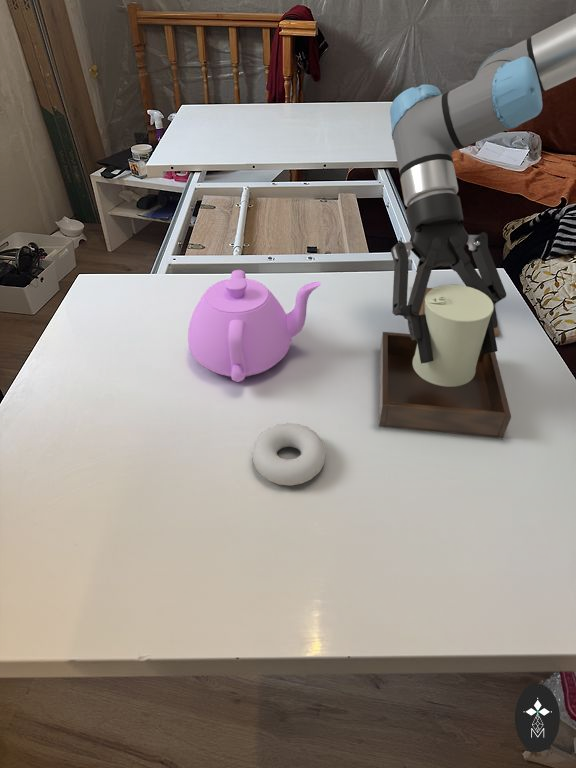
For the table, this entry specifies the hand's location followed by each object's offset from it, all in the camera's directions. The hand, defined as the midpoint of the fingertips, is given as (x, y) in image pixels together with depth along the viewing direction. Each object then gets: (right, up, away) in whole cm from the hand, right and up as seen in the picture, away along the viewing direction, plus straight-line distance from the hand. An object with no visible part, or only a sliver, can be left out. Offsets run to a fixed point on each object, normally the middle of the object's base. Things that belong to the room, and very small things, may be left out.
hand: (459, 357), depth 75 cm
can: (-1, -1, +5) cm, 6 cm away
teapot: (-30, +2, +16) cm, 34 cm away
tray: (-1, -5, +9) cm, 10 cm away
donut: (-24, -14, -2) cm, 28 cm away
